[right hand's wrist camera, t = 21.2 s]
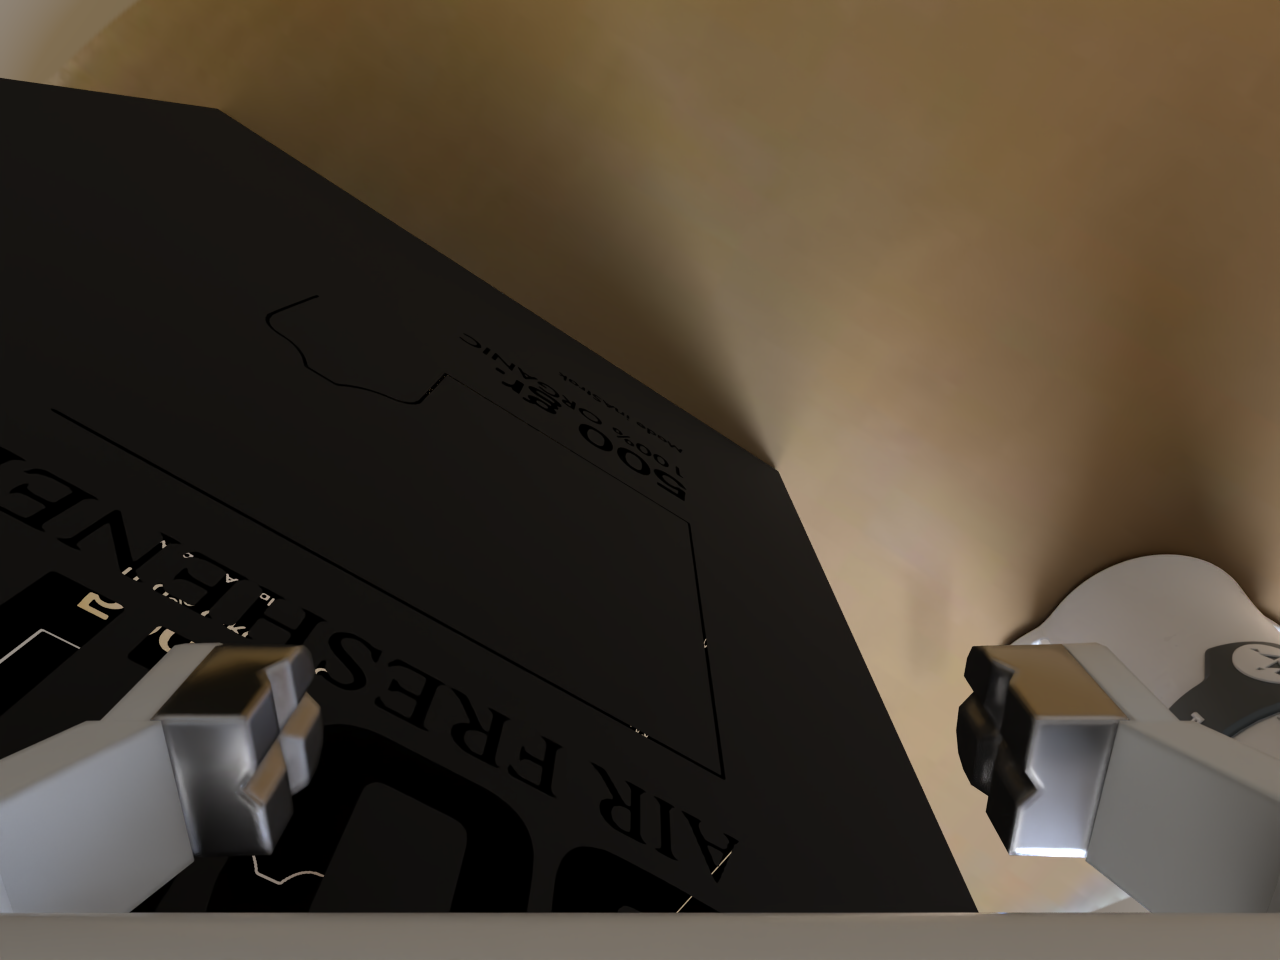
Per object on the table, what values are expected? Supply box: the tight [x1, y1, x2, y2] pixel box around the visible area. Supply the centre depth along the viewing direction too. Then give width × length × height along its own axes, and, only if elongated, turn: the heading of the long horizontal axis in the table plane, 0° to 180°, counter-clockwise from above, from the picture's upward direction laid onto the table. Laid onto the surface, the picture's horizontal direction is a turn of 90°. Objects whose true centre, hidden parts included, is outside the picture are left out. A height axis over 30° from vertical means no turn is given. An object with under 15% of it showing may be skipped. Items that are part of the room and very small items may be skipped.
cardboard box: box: [0, 78, 979, 913], centre depth 30 cm, size 38×20×45 cm, turn 57°
